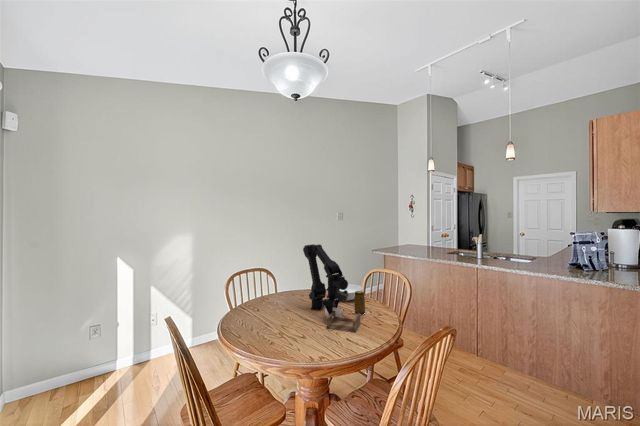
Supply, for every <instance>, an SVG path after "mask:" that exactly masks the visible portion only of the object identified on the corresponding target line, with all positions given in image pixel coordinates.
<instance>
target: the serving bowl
mask: <svg viewBox="0 0 640 426" xmlns="http://www.w3.org/2000/svg"><path fill="white" fill-rule="evenodd" d="M363 289H364V288H363V287H362V286H360V285H358V284H349V283H348V287H347V288H346V289H345V290H346V291H348V298H347V300H346V301H352V300H354V297H355V292H356V291H363ZM345 290H341V289H340V291H343V292H344V291H345ZM363 292H364V291H363Z"/></svg>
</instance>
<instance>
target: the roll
mask: <svg viewBox="0 0 640 426" xmlns="http://www.w3.org/2000/svg"><path fill="white" fill-rule="evenodd" d="M324 309H325V310H324V316H325V317H326V318H327V317H328V316H329V313H328V311H327V309H326V308H324ZM333 311H335V317H343V315H344V310H343V307H342V308H341V307H338V308H334V307H333Z"/></svg>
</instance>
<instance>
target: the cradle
mask: <svg viewBox="0 0 640 426" xmlns="http://www.w3.org/2000/svg"><path fill="white" fill-rule="evenodd" d="M325 319H326V320H325V321H326V330H333V331H334V330H335V331H336V330H337V331H341V332H342V331H343V332H351V333H356V332H357V330H358V329H359V327H360V325H361V315H360V313H358V314H355V317H354V318H350V317H343V316H342V317H335V311H332V312H331V314H330V315H329V316H328V317H327V316H326V318H325Z"/></svg>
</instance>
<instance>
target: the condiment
mask: <svg viewBox="0 0 640 426" xmlns="http://www.w3.org/2000/svg"><path fill="white" fill-rule="evenodd" d="M353 300H354V302H353V303H354V311H351V313H352V314H355V315H357V314H358V313H360V314H361V315H360V317H363V316H367V315H369V314H370V312H369V311H366V297H365V292H364V291H356V292H355V297H354V299H353ZM365 311H366V312H367V313H366V314H364V313H365ZM363 314H364V315H363Z"/></svg>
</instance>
